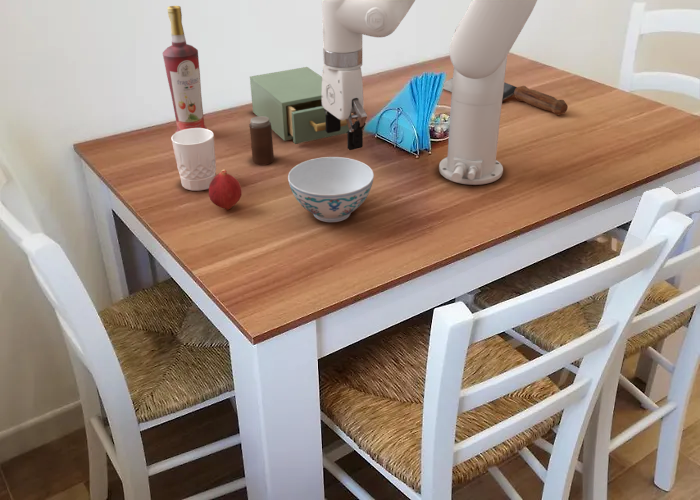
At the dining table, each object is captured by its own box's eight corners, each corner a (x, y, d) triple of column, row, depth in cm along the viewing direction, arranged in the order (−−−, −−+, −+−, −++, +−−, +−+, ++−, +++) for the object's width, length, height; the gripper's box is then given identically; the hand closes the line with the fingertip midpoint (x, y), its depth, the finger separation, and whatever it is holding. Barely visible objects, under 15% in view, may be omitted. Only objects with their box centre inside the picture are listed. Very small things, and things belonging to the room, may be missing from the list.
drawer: (360, 139, 154) (360, 108, 151) (303, 151, 149) (301, 120, 145) (316, 105, 172) (315, 77, 168) (263, 115, 166) (261, 87, 163)
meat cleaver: (436, 86, 185) (437, 71, 182) (468, 77, 190) (469, 62, 188) (535, 127, 162) (537, 110, 159) (568, 115, 167) (571, 99, 165)
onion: (211, 218, 127) (206, 178, 123) (210, 203, 132) (205, 164, 128) (244, 215, 128) (239, 175, 124) (242, 200, 133) (237, 161, 129)
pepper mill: (268, 165, 146) (265, 124, 141) (249, 163, 147) (245, 122, 142) (277, 157, 149) (274, 116, 144) (258, 154, 150) (254, 114, 146)
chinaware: (279, 203, 132) (276, 166, 128) (353, 187, 137) (352, 151, 133) (308, 242, 120) (306, 201, 116) (387, 223, 125) (388, 183, 121)
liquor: (181, 144, 156) (161, 13, 141) (171, 133, 161) (151, 5, 146) (213, 137, 158) (196, 8, 144) (202, 126, 164) (185, 1, 149)
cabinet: (344, 128, 162) (343, 91, 157) (284, 141, 156) (281, 102, 152) (308, 101, 177) (307, 66, 172) (252, 112, 171) (249, 76, 167)
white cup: (183, 195, 135) (175, 147, 130) (175, 178, 141) (167, 131, 136) (223, 188, 138) (217, 140, 132) (214, 171, 144) (208, 125, 138)
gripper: (306, 48, 141) (309, 128, 150) (346, 72, 128) (347, 159, 137) (339, 43, 144) (341, 122, 153) (382, 66, 131) (380, 151, 140)
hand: (343, 139), depth 145 cm, fingers open, 9 cm apart
